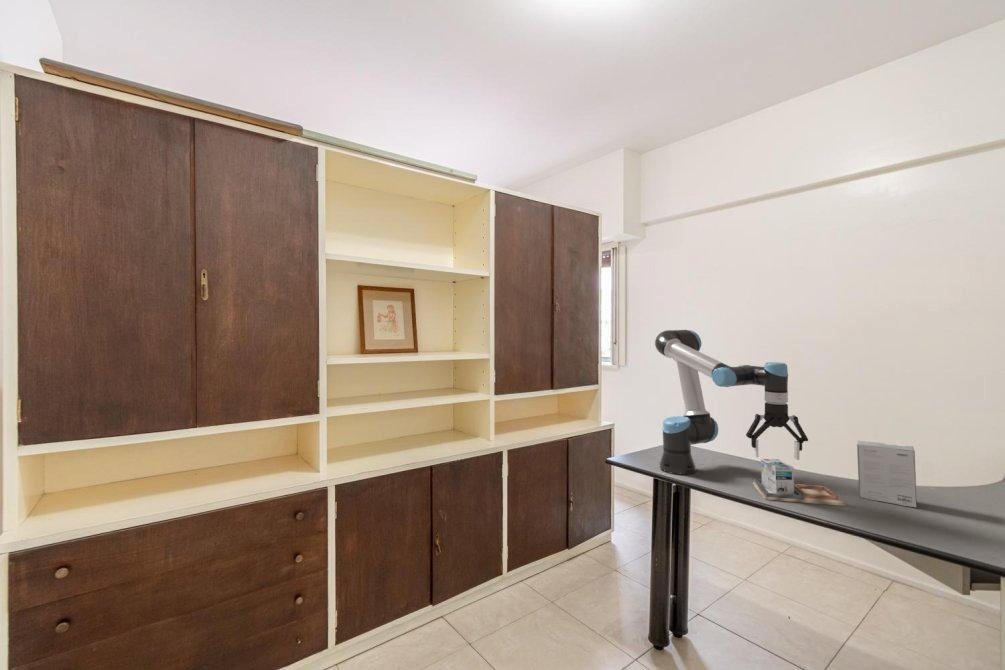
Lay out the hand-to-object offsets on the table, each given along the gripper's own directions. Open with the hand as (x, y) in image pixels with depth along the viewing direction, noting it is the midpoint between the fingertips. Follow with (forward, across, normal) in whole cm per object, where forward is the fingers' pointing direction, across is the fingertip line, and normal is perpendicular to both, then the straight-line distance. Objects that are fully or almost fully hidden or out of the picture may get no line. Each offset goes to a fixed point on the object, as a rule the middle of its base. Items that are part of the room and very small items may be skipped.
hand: (776, 457), depth 161 cm
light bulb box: (+13, 0, -1) cm, 13 cm away
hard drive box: (+13, +35, +2) cm, 38 cm away
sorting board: (+14, +6, 0) cm, 15 cm away
